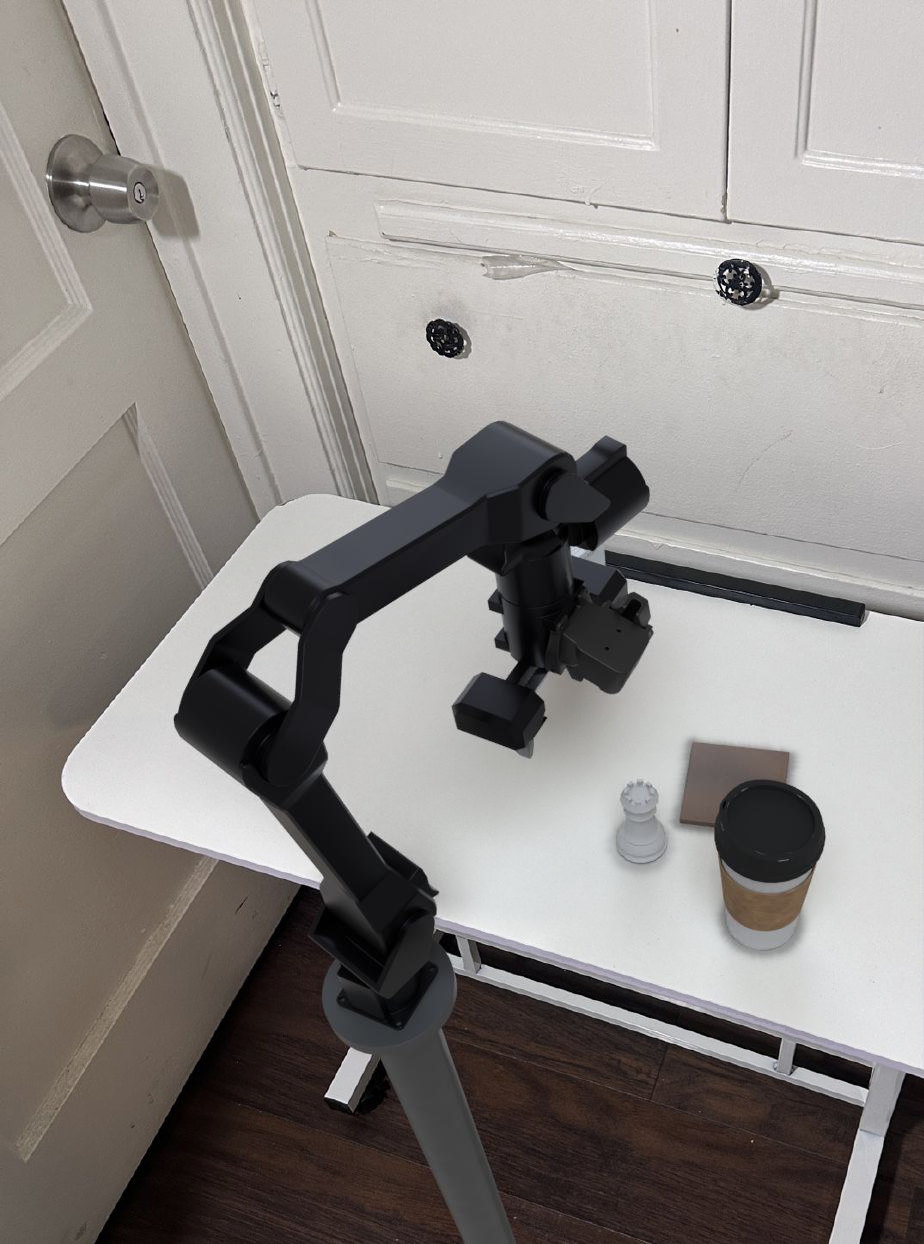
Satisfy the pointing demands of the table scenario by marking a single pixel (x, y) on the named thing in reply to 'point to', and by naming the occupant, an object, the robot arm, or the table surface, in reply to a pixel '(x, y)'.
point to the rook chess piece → (640, 824)
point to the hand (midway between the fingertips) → (552, 716)
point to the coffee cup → (766, 859)
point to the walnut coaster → (724, 777)
